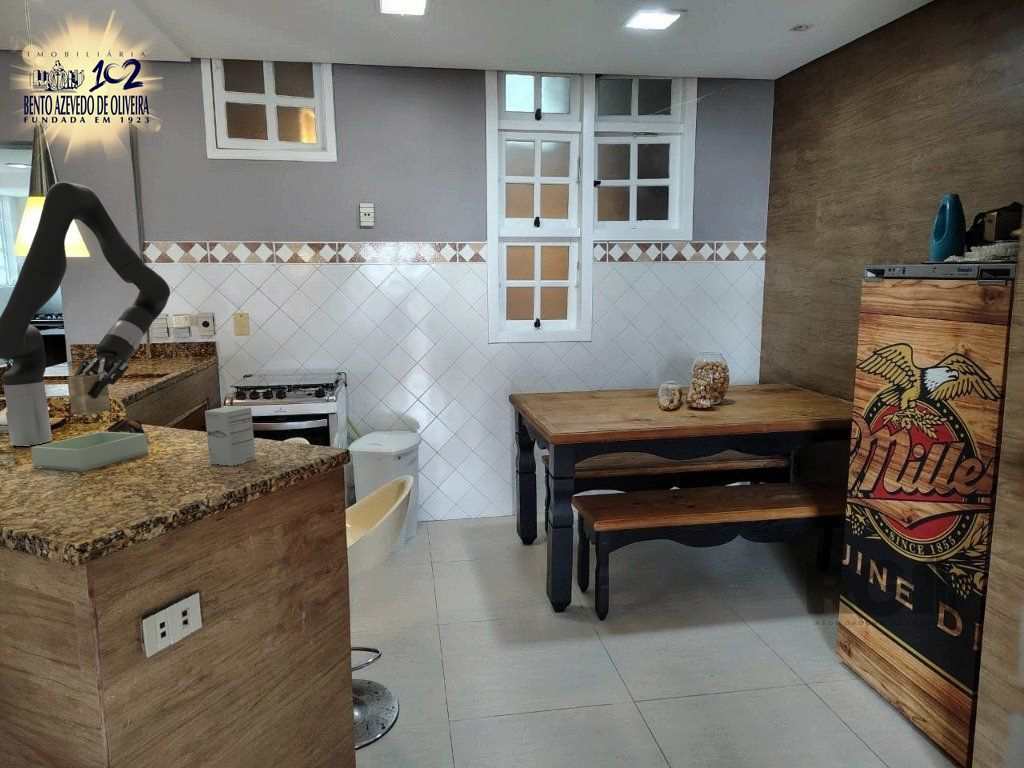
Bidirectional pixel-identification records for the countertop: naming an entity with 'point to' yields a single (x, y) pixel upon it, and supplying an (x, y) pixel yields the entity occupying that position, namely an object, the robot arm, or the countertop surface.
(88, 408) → the brown cardboard box
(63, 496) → the countertop surface
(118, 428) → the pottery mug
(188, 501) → the countertop surface
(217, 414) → the supplement box
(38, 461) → the sage crate
